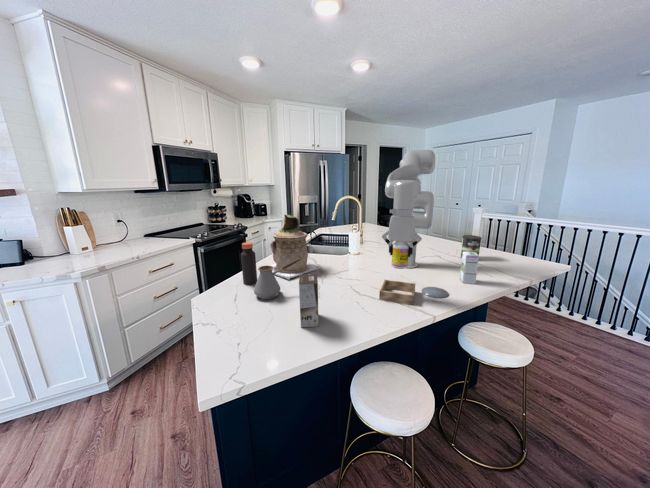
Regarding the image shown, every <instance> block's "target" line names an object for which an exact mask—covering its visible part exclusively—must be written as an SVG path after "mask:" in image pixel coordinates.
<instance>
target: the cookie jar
mask: <svg viewBox="0 0 650 488" xmlns="http://www.w3.org/2000/svg"><path fill="white" fill-rule="evenodd" d="M298 226H299V219H298V217H296V216H294V215H291V214H286V213H285V214H284V222H283V226H282V228H280V229H279V230H278V231H275V232H274V233H273V239H274V240H272V241H271V243H270V244H269V246H270V250H271V252H272V258H273V262H274V263H273V264H269V265H268V266H273V269H272V273H273V272H275V271H277V270H279V269H281V268H283V267H284V266H286V265H288V264H289V263H292V262H294V261H297V260H300V261H298V262H296V263H294V264H293V265H292V266H290V267H288V268H285V269H283V270H281V271H279V272H277V273H276V274H274V276H277V277H279V278H283V279H286V280H287V281H290V279H292V278H296V277H300V275H306V274H309V273H311V272H314V271H318V270H320V267H321V266H320V265H318V264H313V263H308V259H309V258H308V257H309V251H308V245H307V237H308V233H307V232H303V231H301V230H299V229H298ZM300 262H301V263H300Z"/></svg>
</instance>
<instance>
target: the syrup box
mask: <svg viewBox="0 0 650 488" xmlns="http://www.w3.org/2000/svg"><path fill="white" fill-rule="evenodd" d="M479 257H480V254H479V255H478V254H476V253H475V252H463V254H462V259H461V266H460V274H459V280H460V281H461V282H462V284H469V285H472V284H473V285H476V281H477V274H478V266H479Z"/></svg>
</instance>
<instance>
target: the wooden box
mask: <svg viewBox="0 0 650 488" xmlns="http://www.w3.org/2000/svg"><path fill="white" fill-rule="evenodd" d="M382 283H383V284H382V285H381V288H380V289H379V297H378V300H379V301H386V302H391V303H395V304H396V303H398V304H403V305H404V304H405V305H409V306H413V305H414V301H415V300H414V299H415V295H416V294H415V293H416V283H414V282H405V281H398V280H392V279H390V280H389V279H384V281H383V282H382ZM387 289H389V290H394V291H395V290H396V291H401V292H408V293H409V292H410V293H411V294H407V293H401V292H394V291H389V290H388V291H387Z"/></svg>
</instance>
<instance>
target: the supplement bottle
mask: <svg viewBox="0 0 650 488" xmlns="http://www.w3.org/2000/svg"><path fill="white" fill-rule="evenodd" d="M392 244H393V248H392V255H391V267H392V268H394V269H395V270H404V269H408V268H407V267H408V252H409V244H407V242H402V241H394V242H393V243H392Z"/></svg>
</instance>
